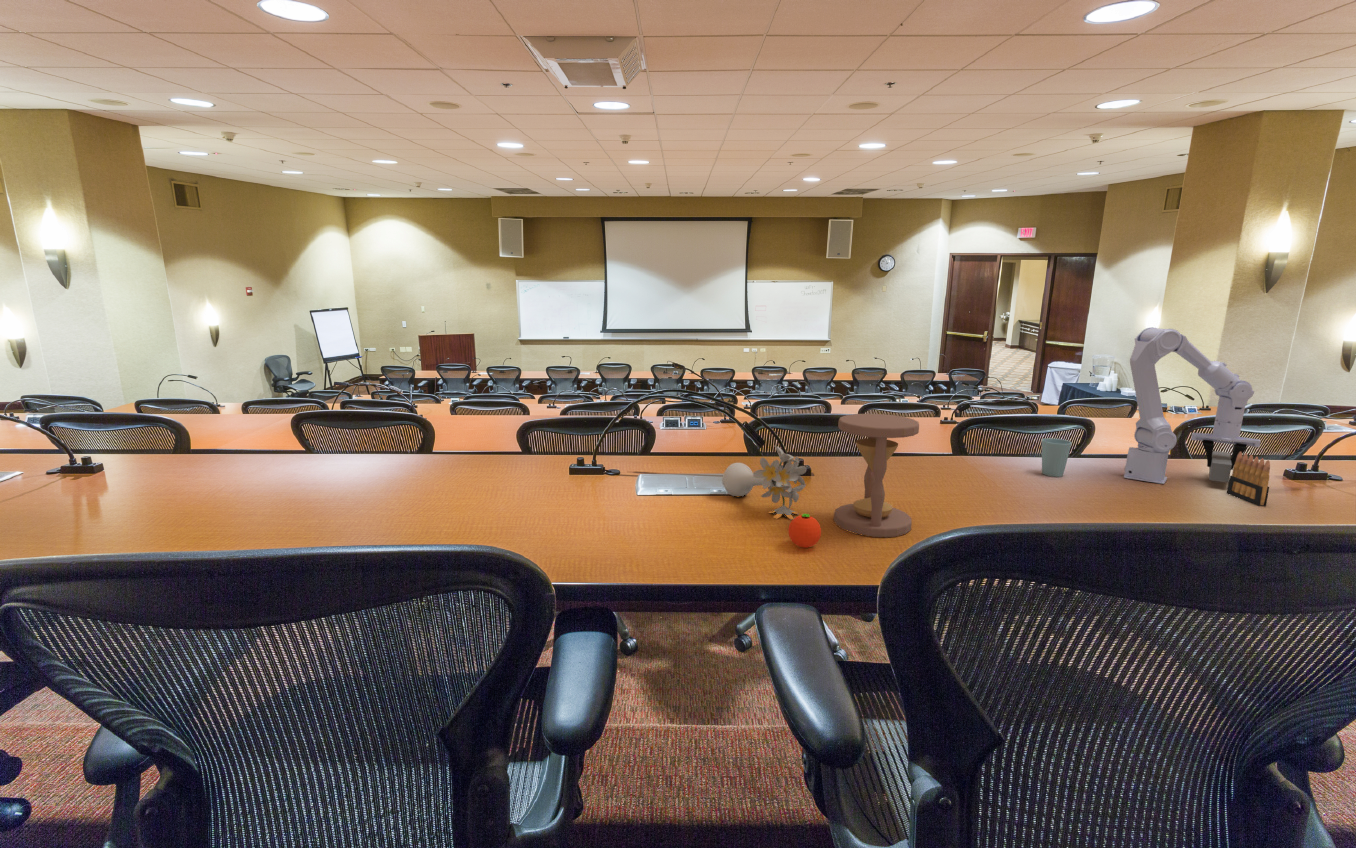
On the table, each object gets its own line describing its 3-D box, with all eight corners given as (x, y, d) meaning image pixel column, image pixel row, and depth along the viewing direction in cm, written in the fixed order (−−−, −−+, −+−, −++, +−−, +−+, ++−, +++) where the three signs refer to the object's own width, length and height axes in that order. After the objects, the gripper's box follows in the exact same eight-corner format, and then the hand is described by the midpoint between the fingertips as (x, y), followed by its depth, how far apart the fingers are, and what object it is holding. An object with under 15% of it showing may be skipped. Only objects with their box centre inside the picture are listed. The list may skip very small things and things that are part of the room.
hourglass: (839, 507, 153) (844, 411, 148) (912, 516, 147) (920, 416, 142) (828, 531, 137) (833, 424, 132) (909, 542, 131) (918, 430, 126)
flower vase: (724, 522, 162) (787, 527, 141) (704, 457, 161) (764, 453, 139) (759, 504, 169) (824, 506, 148) (740, 442, 167) (803, 436, 146)
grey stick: (1209, 479, 168) (1212, 462, 167) (1209, 466, 181) (1212, 450, 180) (1228, 482, 165) (1231, 465, 164) (1227, 469, 179) (1229, 452, 178)
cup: (1056, 470, 186) (1060, 437, 184) (1073, 477, 178) (1077, 443, 176) (1032, 471, 186) (1036, 438, 183) (1048, 478, 178) (1052, 444, 176)
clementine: (790, 536, 134) (791, 506, 133) (821, 540, 132) (823, 509, 131) (785, 550, 127) (787, 519, 125) (819, 554, 125) (821, 522, 123)
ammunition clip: (1266, 506, 153) (1275, 461, 151) (1258, 506, 153) (1267, 460, 151) (1233, 493, 163) (1241, 450, 161) (1226, 493, 164) (1234, 450, 161)
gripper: (1195, 420, 172) (1187, 466, 174) (1265, 426, 163) (1255, 475, 165) (1194, 416, 177) (1186, 461, 180) (1262, 422, 168) (1252, 469, 171)
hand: (1219, 467), depth 173 cm, fingers closed on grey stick, 4 cm apart
